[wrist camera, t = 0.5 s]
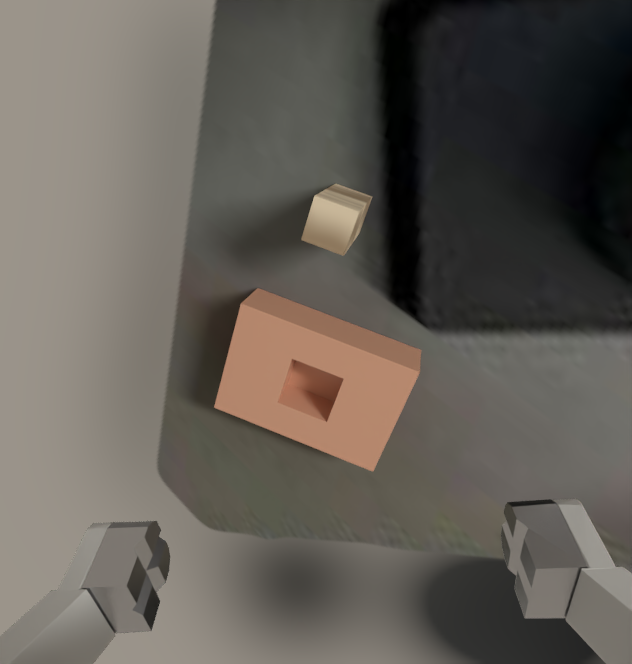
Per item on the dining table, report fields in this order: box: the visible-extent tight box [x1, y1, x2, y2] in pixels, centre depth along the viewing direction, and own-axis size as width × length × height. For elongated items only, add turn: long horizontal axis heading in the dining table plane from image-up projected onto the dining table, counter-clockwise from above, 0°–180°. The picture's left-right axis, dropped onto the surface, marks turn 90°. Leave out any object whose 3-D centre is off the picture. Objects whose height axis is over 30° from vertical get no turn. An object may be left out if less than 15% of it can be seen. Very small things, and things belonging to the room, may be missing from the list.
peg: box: [301, 184, 372, 256], centre depth 46 cm, size 4×4×10 cm
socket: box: [214, 288, 421, 471], centre depth 56 cm, size 14×20×6 cm
